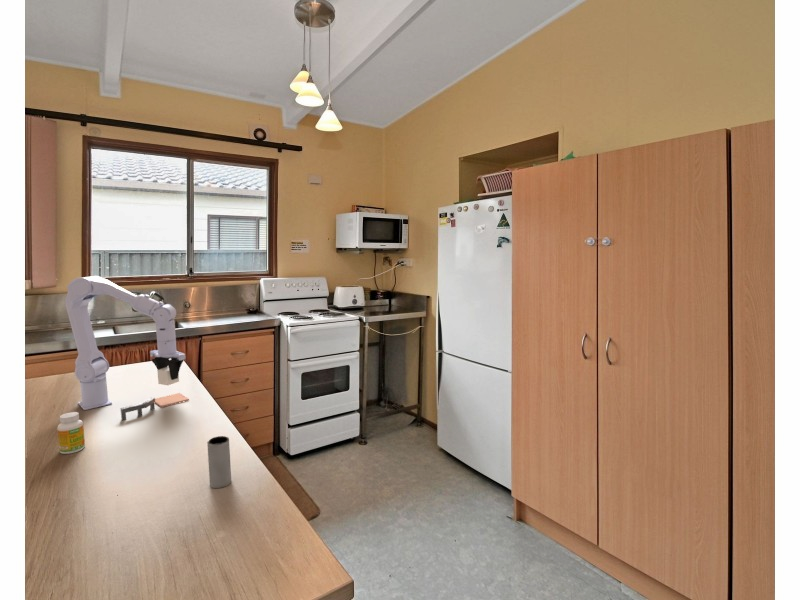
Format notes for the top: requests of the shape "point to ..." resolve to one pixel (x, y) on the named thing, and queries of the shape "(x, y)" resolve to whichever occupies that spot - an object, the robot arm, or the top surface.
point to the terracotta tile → (170, 399)
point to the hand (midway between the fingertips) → (169, 378)
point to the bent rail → (137, 408)
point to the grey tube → (219, 461)
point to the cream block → (165, 377)
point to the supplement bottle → (70, 433)
